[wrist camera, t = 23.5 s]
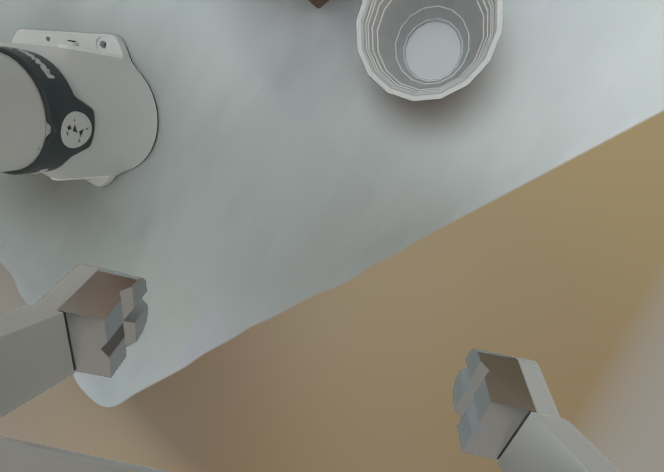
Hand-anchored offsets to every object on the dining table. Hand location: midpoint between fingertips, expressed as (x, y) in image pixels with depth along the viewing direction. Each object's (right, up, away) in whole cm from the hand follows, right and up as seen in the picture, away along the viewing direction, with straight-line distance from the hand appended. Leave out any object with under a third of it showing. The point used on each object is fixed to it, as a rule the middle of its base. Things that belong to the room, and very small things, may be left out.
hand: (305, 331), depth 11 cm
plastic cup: (+11, +21, +32) cm, 40 cm away
